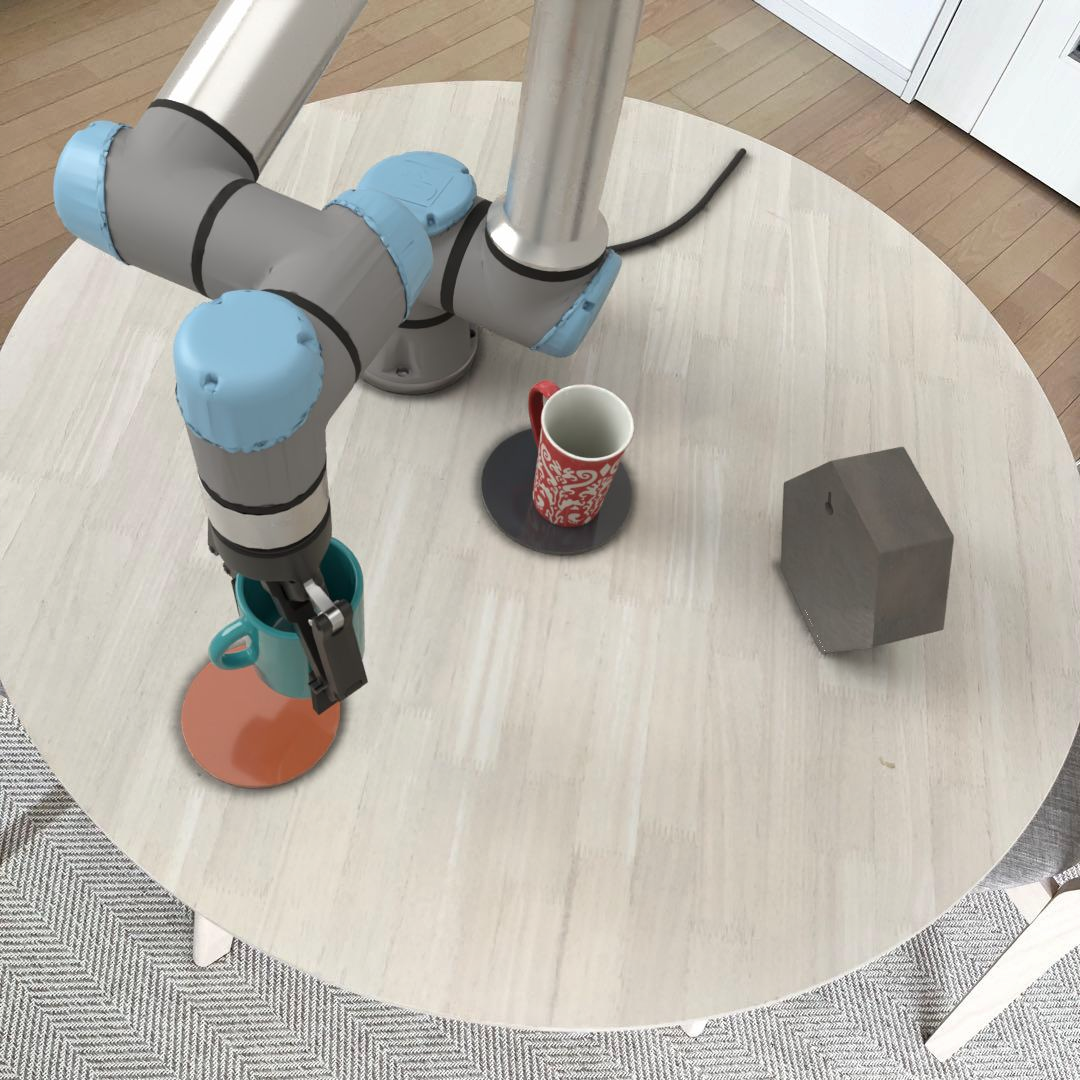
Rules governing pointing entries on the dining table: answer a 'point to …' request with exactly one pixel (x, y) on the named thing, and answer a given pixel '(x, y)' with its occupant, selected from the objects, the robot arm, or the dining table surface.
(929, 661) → the dining table surface
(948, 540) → the dark grey boxy piece
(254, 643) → the cup
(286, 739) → the coaster terracotta
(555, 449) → the mug
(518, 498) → the coaster slate
